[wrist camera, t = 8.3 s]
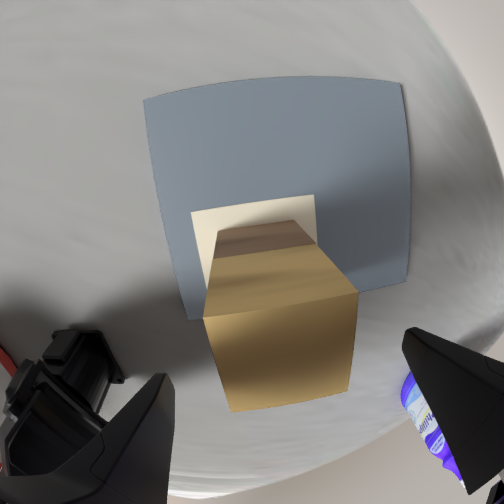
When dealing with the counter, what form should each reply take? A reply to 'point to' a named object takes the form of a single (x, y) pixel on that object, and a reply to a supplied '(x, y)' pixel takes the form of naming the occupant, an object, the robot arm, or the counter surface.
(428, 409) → the bottle
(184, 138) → the board
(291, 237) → the walnut block
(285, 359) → the ochre block
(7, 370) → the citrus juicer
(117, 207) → the counter surface
